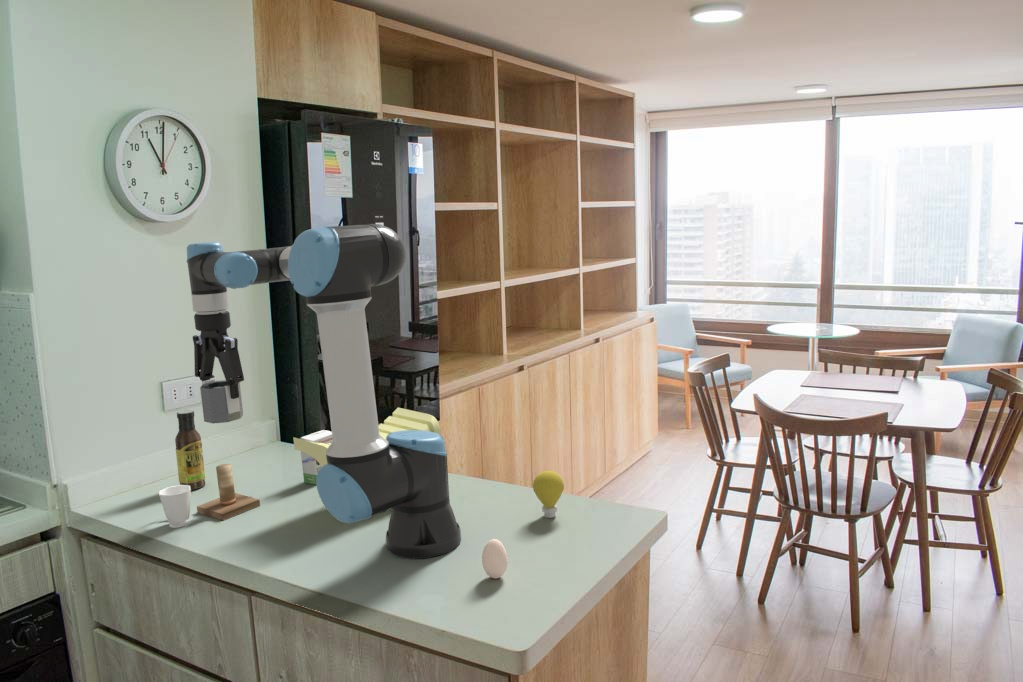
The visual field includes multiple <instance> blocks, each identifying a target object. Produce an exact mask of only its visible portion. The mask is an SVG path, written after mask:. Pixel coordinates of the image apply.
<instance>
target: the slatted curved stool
mask: <svg viewBox="0 0 1023 682" xmlns="http://www.w3.org/2000/svg"><path fill="white" fill-rule="evenodd" d="M378 426H379V434H380V435H381V436H382V437H383V438H384V439H386V437H387V435H388V434H390V433H392V432H397V431H406V430H419V431H429V432H434V433H437V434H439V435H441V436H442V429H441V425H440V423H439V421H438V419H437V418H436V417H435V416H434V415H431V414H429V413H425V412H422V411H418V410H417V411H415V410H411V409H408V408H407V409H406V408H401V407H396V409H395V410H394V411H393V412H392V415H389V416H388V417H386V419H384V421H383V423H379V424H378ZM330 445H331V443H327V444H324V443H314V442H310V441H305V440H302V439H301V438H298V437H294V436H293V446H294V450H297V451H299V452H300V453H301V452H304V453H306V454H308V455H310V456H311V457H313V458H314V459H316V460H317V461H318V462H319V464H320V465H321V467H323V466H324V465H326V464H327V457H326V450H327V448H328V447H329V446H330Z"/></svg>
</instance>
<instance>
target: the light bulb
mask: <svg viewBox="0 0 1023 682" xmlns="http://www.w3.org/2000/svg"><path fill="white" fill-rule="evenodd" d="M532 489H533V492H534V494H535V495H536V498H537V499H538V500H539V501H540V503H541V504H542V506H541V509H542V511H541V512H542V513H543V514H544V515H543V516H544V517H545V518H548V519H549V518H550V519H551V518H554V517H556V512H558V505H557V503H558V501H559V500H560V498H561V496H562V494H563V492H564V489H565V483H564V480H563V478H562V476H561V475H560V474H559V473H557V472H555V471H554V470H544V471H541V472H540V473H538V474H537V475H536V476H535V478H534V479H533V484H532Z"/></svg>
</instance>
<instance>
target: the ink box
mask: <svg viewBox="0 0 1023 682" xmlns="http://www.w3.org/2000/svg"><path fill="white" fill-rule="evenodd" d="M300 439H302V440H305V441H310V442H314V443H324V444H327V443H332V442H333V437H332V430H331V431H330V430H325V429H322V430H319V431H316V432H313V433H312V432H311V433H310V434H308V435H307V434H306V435H304V436H301V437H300ZM300 455H301V456H300V457H301V465H302V475H303V483H305V484H308V485H309V484H310V485H315V486H317V485H316V477H317V474H318V471H319V469H320V468H322V467H321V465H320V464H319V462H318V461H317V460H316V459H314V458H313V457H311V456H310V455H308V454H306V453H304V452H301V451H300Z"/></svg>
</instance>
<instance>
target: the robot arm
mask: <svg viewBox="0 0 1023 682" xmlns="http://www.w3.org/2000/svg"><path fill="white" fill-rule="evenodd" d="M402 239H403V238H401V237H400V236H399V234H398V233H397V232H396V231H394V230H393V229H392V228H390V227H388V226H385V225H382V224H377V223H365V224H355V225H354V224H353V225H336V226H334V225H333V226H322V227H317V228H311V229H307V230H304V231H302V232H301V233H300V234H299V235H298V236H297V237H296V238H295V239H294V242H293V244H292V245H288V246H281V247H280V246H279V247H271V248H262V249H250V250H248V249H247V250H238V251H227V252H226V251H224V250H223V246H222V244H221V242H218V241H208V242H207V241H206V242H205V241H204V242H203V241H202V242H193V243H189V244H188V245H187V246H186V258H187V259H186V263H187V269H188V276H189V283H190V284H189V285H190V291H191V294H190V295H191V303H192V310H193V312H194V313H195V314H194V315H193V319H194V327H195V328H194V329H195V330H196V331H199V332H200V334H196V335H193V336H192V341H193V349H194V360H193V361H194V377H196V378H199V379H200V382H201V386H202V385H203V384H206V383H210V382H214V381H216V380H215V375H214V373H213V371H214V365H215V358H217V359H218V362H219V365H220V367H221V371H222V372H223V376H224V378H225V379H224V380H226V382H227V383H226V384H224V385H225V390H226V399H227V408H228V413H229V414H231V413H234V412H238V411H240V404H239V389H238V383H239V382H240V383H241V382H244V381H245V377H244V376H245V375H244V373H243V372H244V371H243V368H242V362H241V358H240V353H239V348H238V344H239V343H238V338H237V337H232V338H231V337H229V334H228V329H229V328H231V326H232V324H231V323H232V321H231V314H230V312H229V311H228V309H229V300H228V289H234V290H235V289H244V288H247V287H249V286H253V285H261V284H266V283H275V282H276V283H277V282H285V281H286V282H287V281H290V283H291V284H292V285H293V289H294V290H295V292H296V293H297V294H300V296H303V297H305V301H306V306H307V307H309V308H310V309H311V310H312V311H314V312H315V314H316V317H317V320H316V321H317V327H318V335H319V342H320V349H321V358H322V365H323V373H324V381H325V390H326V397H327V398H326V399H327V405H328V411H329V420H330V429H331V432H332V437H333V442H332V443H331V445H330V446H329V447H328V448H327V450H326V457H327V464H326V465H324V466H323V467H322V468H320V469H319V471H318V474H317V477H316V485H315V486H316V490H317V493H318V496H319V498H320V500H321V502H322V504H323V506H324V507H325V509H326V510H327V511H328V512H329V514H330V515H331V516H333V518H335V519H336V520H338V521H340V522H341V523H344V524H355V523H357V522H359V521H363V520H364V521H365V520H369V519H370V518H372V517H373V516H376V515H378V514H381V513H383V512H386V511H387V510H391V513H390V516H389V521H388V528H387V531H386V533H385V545H386V550H387V551H388V552H389V553H390V554H392V555H394V556H396V557H399V558H403V559H427V558H428V559H429V558H433V557H438V556H440V555H444V554H447V553H449V552H451V551H453V550H454V549H455V548H456V549H457V547H458V546H459V545H460V544H461V541H462V534H461V527H460V524H459V523H458V522H457V519H456V516H455V513H454V510H453V507H452V506H451V502H450V501H451V499H450V489H449V488H450V487H449V472H448V452H447V449H446V442H445V439H444V437H443V436H442V434H441V435H439V434H437V433H434V432H429V431H419V430H406V431H397V432H392V433H390V434H388V435H387V437H386V439H384V438H383V437H382V436H381V435H380V434H379V426H378V425H379V420H378V419H379V418H378V411H377V403H376V402H377V401H376V392H375V386H374V378H373V369H372V360H371V359H372V358H371V352H370V351H371V350H370V342H369V335H368V328H367V327H368V325H367V318H366V309H365V308H366V306H367V305H368V303H370V301H371V300H372V291H371V290H372V289H371V288H372V287H377V286H382V285H384V284H385V285H386V284H387V283H389V282H392V281H393V280H395V278H396V277H398V276H399V275H400V273H401V272H402V270H403V268H404V266H405V263H406V258H407V257H406V256H407V253H406V248H405V244H404V242H403V240H402Z"/></svg>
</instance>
